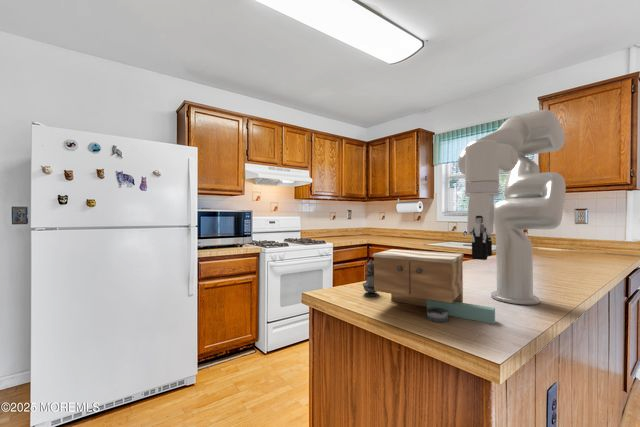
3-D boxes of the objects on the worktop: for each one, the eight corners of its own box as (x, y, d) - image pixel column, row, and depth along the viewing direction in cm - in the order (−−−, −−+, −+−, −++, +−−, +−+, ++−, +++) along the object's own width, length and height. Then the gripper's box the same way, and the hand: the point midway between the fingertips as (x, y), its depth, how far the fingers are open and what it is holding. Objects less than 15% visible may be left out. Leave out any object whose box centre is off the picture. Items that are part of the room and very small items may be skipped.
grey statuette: (362, 297, 95) (362, 260, 95) (362, 292, 101) (362, 257, 101) (380, 297, 94) (380, 260, 94) (380, 293, 100) (379, 258, 100)
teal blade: (429, 310, 83) (429, 297, 83) (495, 321, 73) (495, 307, 73) (426, 312, 81) (426, 299, 81) (494, 324, 71) (493, 310, 71)
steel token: (430, 315, 78) (430, 306, 78) (450, 319, 75) (450, 309, 75) (424, 320, 74) (424, 311, 74) (445, 325, 71) (445, 315, 71)
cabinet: (393, 298, 93) (392, 249, 93) (464, 310, 81) (463, 253, 81) (371, 311, 81) (371, 254, 81) (452, 327, 69) (451, 260, 69)
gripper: (471, 193, 84) (471, 253, 83) (458, 188, 70) (459, 259, 69) (501, 192, 79) (502, 255, 79) (495, 186, 65) (496, 262, 65)
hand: (482, 257), depth 74 cm, fingers open, 9 cm apart
